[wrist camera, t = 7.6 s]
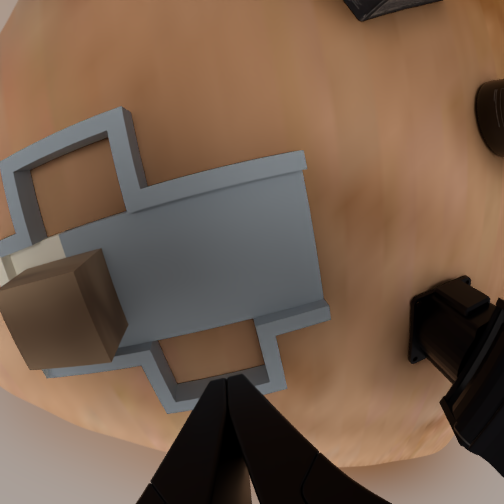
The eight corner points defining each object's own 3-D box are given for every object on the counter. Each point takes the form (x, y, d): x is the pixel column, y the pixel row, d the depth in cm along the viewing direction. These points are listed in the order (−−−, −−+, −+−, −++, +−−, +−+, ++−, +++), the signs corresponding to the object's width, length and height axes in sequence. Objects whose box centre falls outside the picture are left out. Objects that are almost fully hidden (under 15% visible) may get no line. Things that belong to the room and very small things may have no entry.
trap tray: (276, 78, 16) (284, 68, 14) (326, 357, 21) (336, 373, 19) (-13, 177, 14) (-30, 180, 12) (82, 405, 20) (76, 421, 18)
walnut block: (128, 324, 18) (111, 362, 14) (54, 336, 17) (29, 370, 13) (101, 247, 16) (73, 271, 12) (26, 269, 16) (-8, 293, 12)
